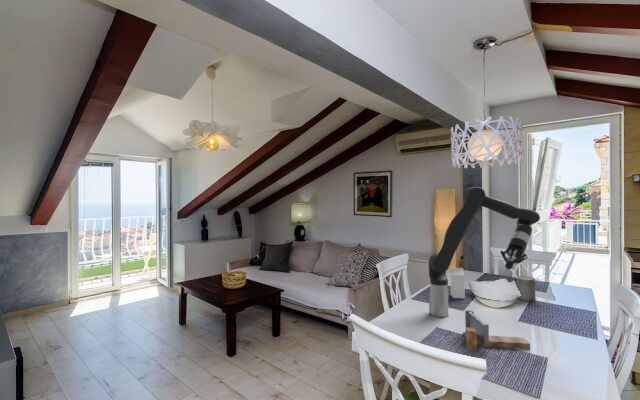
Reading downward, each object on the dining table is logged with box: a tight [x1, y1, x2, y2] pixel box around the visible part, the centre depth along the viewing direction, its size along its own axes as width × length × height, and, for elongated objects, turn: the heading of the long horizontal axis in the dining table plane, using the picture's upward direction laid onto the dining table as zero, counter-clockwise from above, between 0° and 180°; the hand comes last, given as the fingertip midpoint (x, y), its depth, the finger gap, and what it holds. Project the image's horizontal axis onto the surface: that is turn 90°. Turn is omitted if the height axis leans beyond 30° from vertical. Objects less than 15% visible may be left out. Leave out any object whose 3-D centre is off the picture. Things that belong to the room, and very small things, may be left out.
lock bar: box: [464, 310, 490, 344], centre depth 141 cm, size 17×4×10 cm, turn 179°
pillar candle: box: [516, 275, 536, 302], centre depth 198 cm, size 10×10×15 cm
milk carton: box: [450, 267, 466, 299], centre depth 205 cm, size 7×7×19 cm
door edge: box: [462, 326, 531, 351], centre depth 140 cm, size 26×18×8 cm
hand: (507, 268), depth 157 cm, fingers closed
